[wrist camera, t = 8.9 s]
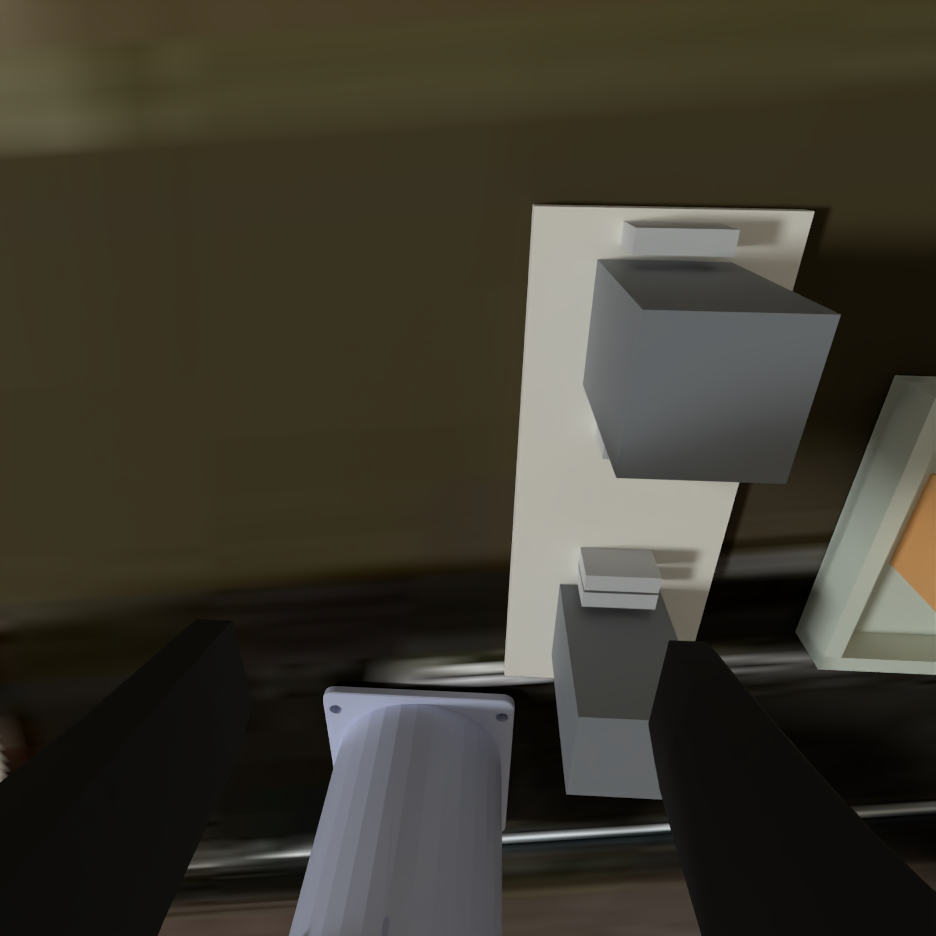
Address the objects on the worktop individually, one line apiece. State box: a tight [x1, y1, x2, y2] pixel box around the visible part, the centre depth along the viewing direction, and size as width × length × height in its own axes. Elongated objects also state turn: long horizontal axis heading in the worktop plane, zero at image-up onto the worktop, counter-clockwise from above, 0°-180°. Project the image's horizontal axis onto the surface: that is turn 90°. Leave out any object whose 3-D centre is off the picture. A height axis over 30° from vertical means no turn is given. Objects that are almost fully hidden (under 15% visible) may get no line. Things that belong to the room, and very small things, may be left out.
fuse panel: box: [504, 204, 841, 799], centre depth 17 cm, size 17×7×6 cm, turn 179°
